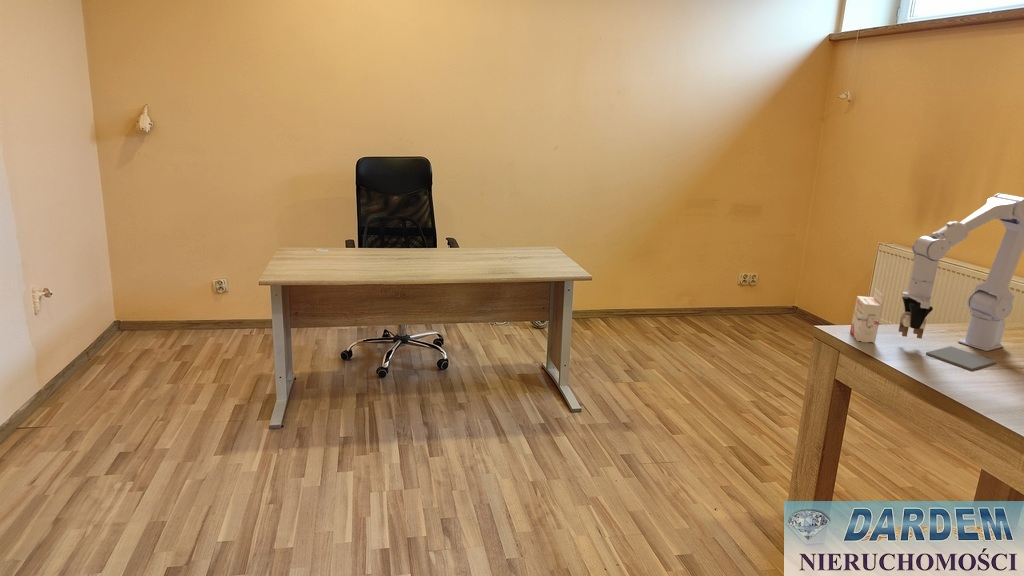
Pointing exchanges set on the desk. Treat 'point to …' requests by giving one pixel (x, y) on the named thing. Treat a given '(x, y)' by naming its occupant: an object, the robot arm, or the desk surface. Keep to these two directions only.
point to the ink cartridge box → (867, 317)
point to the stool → (906, 324)
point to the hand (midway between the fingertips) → (912, 325)
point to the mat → (961, 358)
